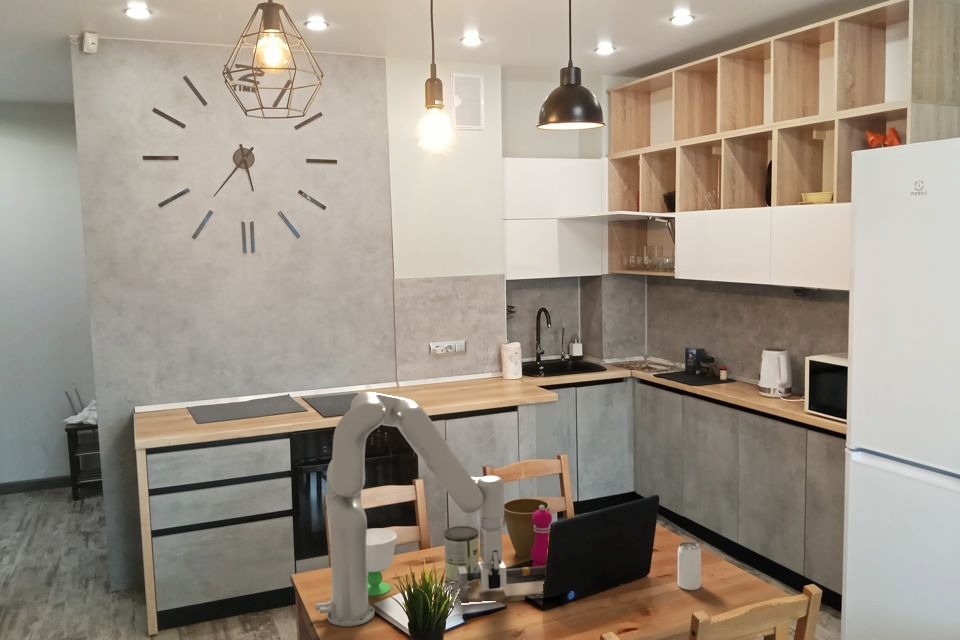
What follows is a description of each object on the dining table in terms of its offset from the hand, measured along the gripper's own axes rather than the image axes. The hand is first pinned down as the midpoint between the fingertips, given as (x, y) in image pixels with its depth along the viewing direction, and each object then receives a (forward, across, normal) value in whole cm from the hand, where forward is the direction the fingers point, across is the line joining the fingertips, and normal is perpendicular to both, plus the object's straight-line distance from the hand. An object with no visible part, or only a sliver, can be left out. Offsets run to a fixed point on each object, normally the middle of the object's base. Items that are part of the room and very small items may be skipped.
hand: (492, 582), depth 225 cm
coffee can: (+4, -15, -6) cm, 17 cm away
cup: (+4, -12, -32) cm, 35 cm away
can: (+4, +5, +56) cm, 57 cm away
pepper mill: (+4, -16, +18) cm, 25 cm away
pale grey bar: (+4, 0, +4) cm, 6 cm away
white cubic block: (0, 0, 0) cm, 0 cm away
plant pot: (+4, -29, +16) cm, 34 cm away
